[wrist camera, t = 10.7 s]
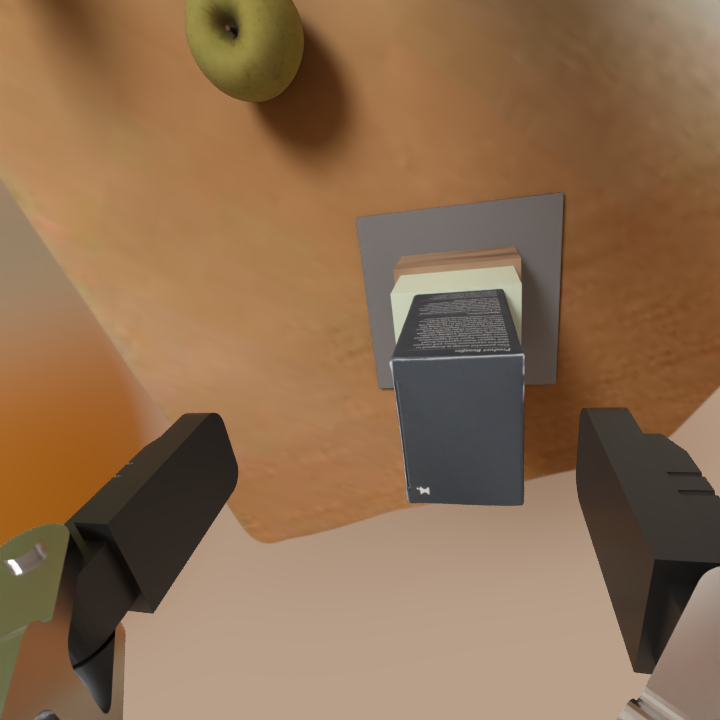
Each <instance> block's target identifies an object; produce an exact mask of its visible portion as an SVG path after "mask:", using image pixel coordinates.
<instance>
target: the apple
mask: <svg viewBox="0 0 720 720" xmlns="http://www.w3.org/2000/svg"><path fill="white" fill-rule="evenodd" d="M185 26H186V35H187V40H188V45H189V48H190V50H191V53H192V55H193V57H194V59H195V61H196V63H197V65H198V66H199V68H200V70H201V71H202V72H203V74H204V75H205V76H206V77H207V78H208V79H209V81H210V82H211V83H212V84H213V85H214V86H216V87H217V88H218V89H219V90H221V91H222V92H224V93H225V94H227V95H229V96H231V97H233V98H236V99H238V100H242V101H247V102H262V101H267V100H270V99H272V98H274V97H276V96H278V95H279V94H281V93H282V92H283V91H284V90H285V89H286V88H287V87H288V86H289V85H290V83H291V82H292V80H293V79H294V77H295V75H296V73H297V71H298V69H299V66H300V63H301V60H302V56H303V50H304V34H303V27H302V23H301V19H300V16H299V14H298V11H297V9H296V7H295V5H294V3H293V1H292V0H186V8H185Z"/></svg>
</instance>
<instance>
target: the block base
mask: <svg viewBox="0 0 720 720" xmlns="http://www.w3.org/2000/svg"><path fill="white" fill-rule="evenodd" d="M505 266H514V268H515V270H516V272H517V274H518V277H519V279H520V281H521V257H520V255H519V253H518V251H517V250H516V248H515V246H514V245H511V246H501V247H491V248H480V249H470V250H460V251H450V252H440V253H429V254H419V255H409V256H402V257H401V258H400V260H399V261H398V263H397V264H396V266H395V267H394V269H393V273H394V282H395V285H396V283H397V281H398V279H399V277H400V276H402V275H413V274H425V273H436V272H448V271H459V270H471V269H482V268H494V267H505Z"/></svg>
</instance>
